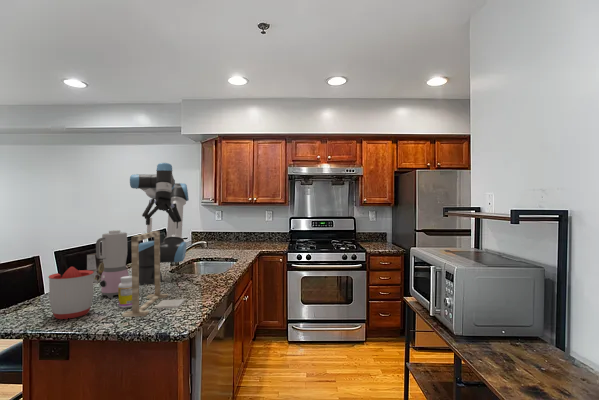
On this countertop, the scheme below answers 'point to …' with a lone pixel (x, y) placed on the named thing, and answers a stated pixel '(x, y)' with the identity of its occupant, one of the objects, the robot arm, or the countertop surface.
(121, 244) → the blender
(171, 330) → the countertop surface
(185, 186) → the robot arm
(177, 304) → the coaster
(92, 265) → the coffee box
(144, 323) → the countertop surface
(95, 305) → the countertop surface
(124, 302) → the supplement bottle
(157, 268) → the gate frame
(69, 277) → the citrus juicer
